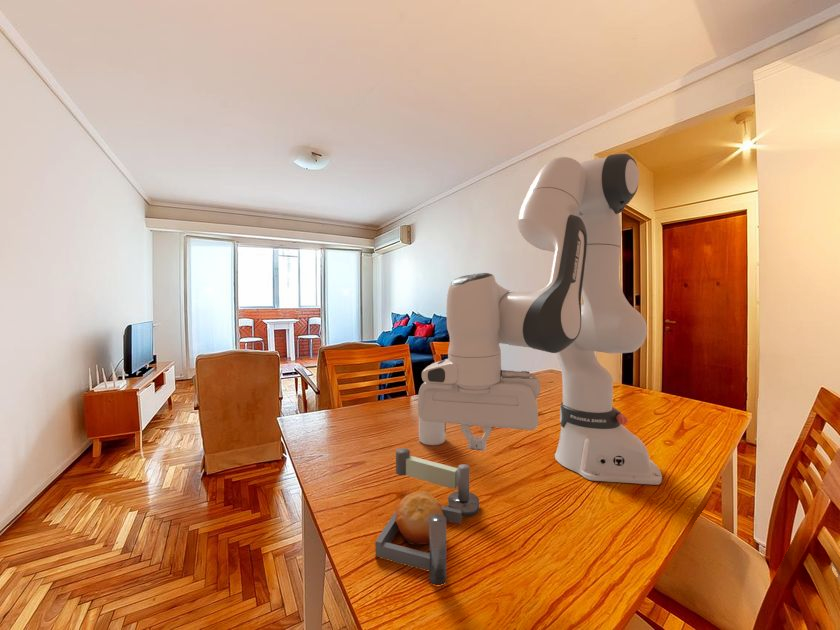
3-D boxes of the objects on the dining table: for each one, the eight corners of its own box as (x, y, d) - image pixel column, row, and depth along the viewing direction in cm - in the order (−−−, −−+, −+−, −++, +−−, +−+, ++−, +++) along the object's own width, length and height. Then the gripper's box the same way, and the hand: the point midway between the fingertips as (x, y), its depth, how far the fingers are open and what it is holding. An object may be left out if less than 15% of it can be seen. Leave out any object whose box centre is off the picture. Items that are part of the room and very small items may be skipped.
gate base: (481, 501, 67) (481, 494, 67) (476, 520, 62) (476, 512, 62) (452, 495, 69) (452, 488, 69) (444, 513, 64) (444, 505, 63)
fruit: (439, 506, 63) (441, 483, 59) (443, 554, 57) (446, 532, 52) (396, 507, 63) (395, 484, 59) (395, 556, 56) (394, 533, 52)
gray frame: (461, 520, 61) (461, 507, 61) (443, 575, 49) (443, 558, 49) (405, 508, 65) (405, 495, 65) (375, 556, 53) (375, 541, 53)
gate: (466, 504, 63) (466, 471, 63) (393, 480, 72) (392, 452, 71) (471, 495, 66) (471, 465, 66) (400, 474, 74) (400, 447, 74)
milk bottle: (443, 447, 92) (443, 375, 91) (416, 444, 94) (416, 374, 93) (447, 436, 100) (447, 369, 99) (421, 434, 101) (421, 368, 100)
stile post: (448, 575, 49) (448, 515, 49) (443, 588, 47) (443, 526, 46) (432, 571, 50) (432, 512, 50) (427, 584, 48) (427, 522, 47)
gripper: (539, 367, 57) (540, 446, 58) (424, 364, 63) (427, 435, 64) (539, 376, 51) (541, 465, 52) (412, 371, 57) (416, 450, 58)
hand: (477, 448), depth 58 cm, fingers closed
